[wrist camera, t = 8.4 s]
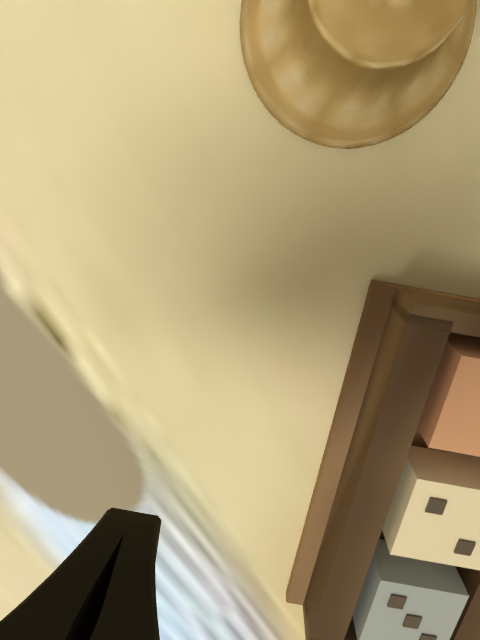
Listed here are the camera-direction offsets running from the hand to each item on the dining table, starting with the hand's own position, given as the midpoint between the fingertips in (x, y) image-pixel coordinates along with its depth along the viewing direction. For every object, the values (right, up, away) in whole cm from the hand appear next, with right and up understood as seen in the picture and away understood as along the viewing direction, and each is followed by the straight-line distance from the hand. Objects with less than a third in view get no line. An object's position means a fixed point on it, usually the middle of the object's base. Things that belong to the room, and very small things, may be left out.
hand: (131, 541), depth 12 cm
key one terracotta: (+13, +3, +8) cm, 15 cm away
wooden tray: (+12, -2, +10) cm, 16 cm away
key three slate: (+11, -7, +11) cm, 17 cm away
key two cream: (+12, -2, +10) cm, 15 cm away
